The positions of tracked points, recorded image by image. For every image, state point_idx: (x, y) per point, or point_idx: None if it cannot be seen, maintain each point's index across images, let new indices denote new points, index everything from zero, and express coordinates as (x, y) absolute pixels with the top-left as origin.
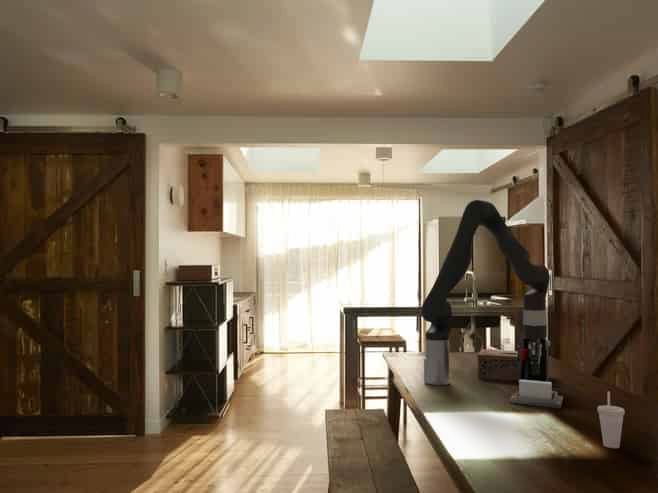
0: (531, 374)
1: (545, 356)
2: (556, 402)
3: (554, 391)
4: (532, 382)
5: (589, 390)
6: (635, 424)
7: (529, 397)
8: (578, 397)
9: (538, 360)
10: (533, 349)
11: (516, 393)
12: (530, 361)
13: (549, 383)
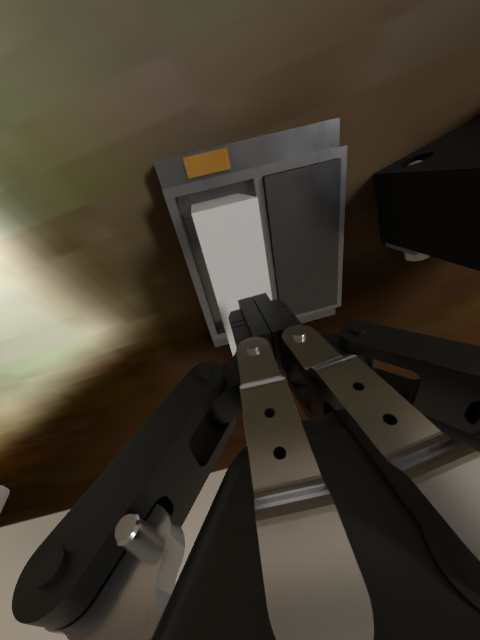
0: (453, 193)
1: None
2: None
3: (330, 303)
4: (217, 287)
5: (464, 323)
6: None
7: (190, 257)
8: None
9: (224, 425)
10: (62, 632)
11: (228, 174)
12: (198, 368)
13: None
